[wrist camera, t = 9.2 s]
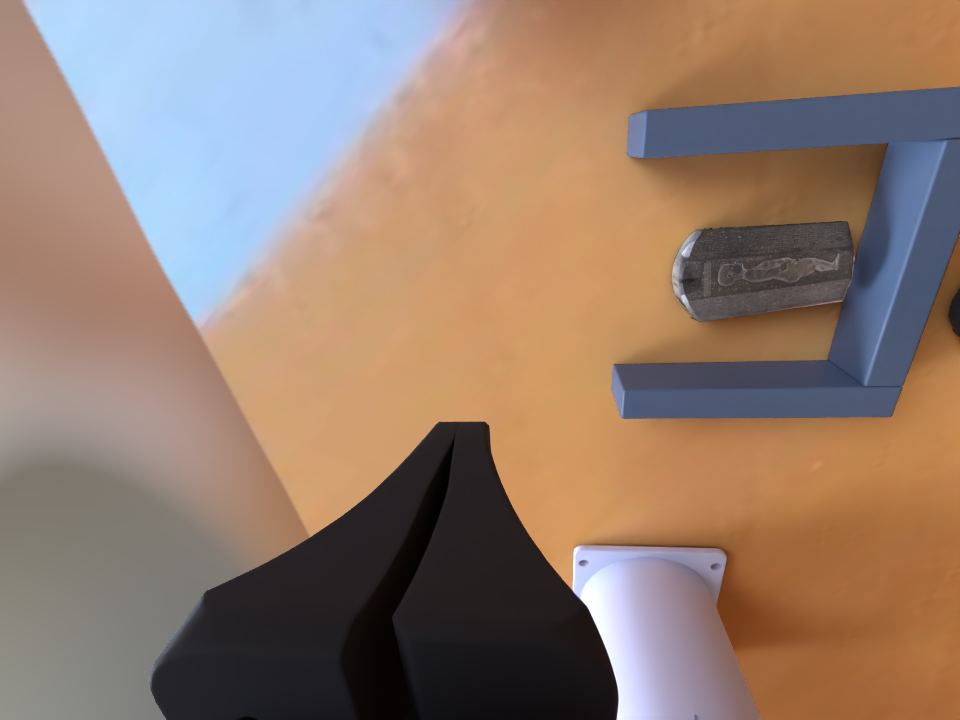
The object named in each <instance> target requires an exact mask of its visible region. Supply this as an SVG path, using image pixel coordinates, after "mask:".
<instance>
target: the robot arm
mask: <svg viewBox="0 0 960 720" xmlns="http://www.w3.org/2000/svg"><path fill="white" fill-rule="evenodd" d="M581 560H585V561H581ZM726 561H727V557H726V555H725V553H724V551H723V550H721V549H718V548H688V547H645V546H602V545H580V546H578V547H576V548H575V550H574V565H573V591H572V590H571V589H570V587H569V586H568V585H567V584H566V583H565V582H564V581H563V580H562V578H561V577H560V576H559V575H558V573H557V572H556V571H555V570H554V569H553V567H552V566H551V565H550V564H549V562H548V561H547V560H546V558H545V557H544V556H543V554H542V553H541V551H540V550H539V548H538V547H537V546H536V544H535V543H534V541H533V540H532V539H531V537H530V536H529V534H528V533H527V531H526V529H525V528H524V526H523V524H522V523H521V521H520V519H519V518H518V516H517V514H516V512H515V510H514V509H513V507H512V505H511V503H510V501H509V499H508V496H507V494H506V492H505V490H504V488H503V485H502V483H501V480H500V478H499V475H498V473H497V470H496V467H495V464H494V461H493V457H492V454H491V445H490V430H489V425H488V424H487V423H486V422H438V423H437V424H436V425H435V426H434V427H433V429H432V430H431V431H430V432H429V433H428V434H427V436H426V437H425V438H424V439H423V440H422V441H421V443H420V444H419V445H418V446H417V447H416V448H415V449H414V450H413V452H412V453H411V454H410V455H409V456H408V457H407V458H406V459H405V460H404V461H403V462H402V463H401V464H400V466H399V467H398V468H397V469H396V470H395V471H394V472H393V473H392V474H391V475H390V476H389V477H387V478H386V479H385V480H384V481H383V482H382V483H381V484H380V485H379V486H378V487H377V488H376V489H375V490H374V491H373V492H372V493H370V494H369V495H368V496H367V497H366V498H365V499H363V500H362V501H361V502H360V503H358V504H357V505H356V506H354V507H353V508H352V509H351V510H349V511H348V512H347V513H345V514H344V515H343V516H341V517H340V518H338V519H337V520H336V521H334V522H333V523H331V524H330V525H328V526H327V527H325V528H324V529H322V530H321V531H319V532H318V533H316V534H315V535H313V536H312V537H310V538H309V539H307V540H306V541H304V542H302V543H300V544H299V545H297V546H296V547H294V548H292V549H290V550H289V551H287V552H285V553H283V554H281V555H280V556H278V557H276V558H274V559H272V560H271V561H269V562H267V563H265V564H263V565H261V566H259V567H257V568H255V569H253V570H251V571H249V572H247V573H244V574H243V575H240V576H238V577H236V578H234V579H232V580H230V581H228V582H226V583H223V584H221V585H219V586H217V587H215V588H212V589H210V590H208V591H206V592H205V593H204V595H203V596H202V597H201V599H200V600H199V601H198V603H197V604H196V605H195V607H194V608H193V609H192V611H191V612H190V613H189V615H188V616H187V617H186V619H185V620H184V622H183V623H182V625H181V626H180V627H179V629H178V630H177V632H176V633H175V635H174V636H173V637H172V639H171V640H170V642H169V643H168V645H167V646H166V647H165V649H164V650H163V652H162V653H161V654H160V656H159V657H158V659H157V660H156V662H155V664H154V665H153V667H152V669H151V671H150V688H151V691H152V694H153V696H154V699H155V701H156V703H157V705H158V706H159V708H160V710H161V711H162V713H163V715H164V716H165V718H166V719H167V720H762V718H761V716H760V714H759V711H758V709H757V706H756V704H755V701H754V699H753V696H752V694H751V691H750V689H749V687H748V684H747V682H746V679H745V677H744V674H743V672H742V669H741V667H740V665H739V662H738V660H737V657H736V655H735V652H734V650H733V647H732V645H731V643H730V640H729V638H728V635H727V633H726V630H725V628H724V625H723V623H722V620H721V618H720V616H719V613H718V611H717V608H716V606H717V601H718V597H719V592H720V588H721V584H722V579H723V575H724V570H725V566H726Z"/></svg>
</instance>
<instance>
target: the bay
mask: <svg viewBox="0 0 960 720" xmlns="http://www.w3.org/2000/svg"><path fill="white" fill-rule="evenodd" d="M878 143H888V147H887V150H886V154H885V157H884V161H883V164H882V168H881V171H880V175H879V179H878V182H877V186H876V189H875V193H874V196H873V200H872V203H871V207H870V210H869V214H868V217H867V221H866V225H865V228H864V232H863V235H862V239H861V242H860V246H859V249H858V253H857V256H856V260H855V263H854V267H853V276H852V280H851V283H850V285H849V286H848V289H847V292H846V295H845V299H844V302H843V306H842V309H841V313H840V316H839V320H838V323H837V327H836V331H835V334H834V338H833V341H832V345H831V348H830V352H829V355H828V360H818V361H763V362H707V363H652V364H614V365H613V375H612V392H613V395H614V398H615V401H616V404H617V407H618V410H619V413H620V416H621V418H623V419H643V418H819V417H891V416H892V414H893V412H894V409H895V406H896V404H897V401H898V398H899V396H900V393H901V390H902V387H901V386H902V385H903V384H904V382H905V379H906V377H907V374H908V371H909V368H910V366H911V363H912V360H913V358H914V355H915V352H916V350H917V347H918V344H919V341H920V339H921V336H922V333H923V331H924V328H925V325H926V322H927V320H928V317H929V314H930V312H931V309H932V306H933V304H934V301H935V298H936V295H937V293H938V290H939V287H940V285H941V282H942V279H943V277H944V274H945V271H946V268H947V266H948V263H949V260H950V258H951V255H952V252H953V249H954V247H955V244H956V241H957V239H958V236H959V233H960V87H948V88H935V89H922V90H908V91H895V92H882V93H869V94H855V95H842V96H829V97H815V98H802V99H789V100H775V101H762V102H749V103H736V104H722V105H709V106H696V107H682V108H669V109H656V110H646V111H642V112H638V113H634V114H631V115H630V117H629V130H628V145H627V155H628V156H630V157H637V158H643V159H645V158H661V157H676V156H692V155H707V154H723V153H739V152H754V151H770V150H785V149H801V148H816V147H832V146H847V145H863V144H878Z"/></svg>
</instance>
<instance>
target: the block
mask: <svg viewBox="0 0 960 720" xmlns="http://www.w3.org/2000/svg"><path fill="white" fill-rule="evenodd" d="M704 229H705V228H704ZM854 249H855V248H854V246H853V242H852V237H851V233H850V229H849V224H848V222H844V221H836V222H820V223H815V222H814V223H803V224H787V225H770V226H754V227H753V226H751V227H750V226H749V227H724V228H723V227H722V228H721V227H720V229H712V228H709V230H707V229H706V230H695V231H694V232H693V233H692V234H691V235H690V236H689V237H688V238H687V240H686V241H685V242H684V243H683V245H682V246H681V248H680V250H679V251H678V254H677V256H676V258H675V262H674V265H673V271H672V285H673V289H674V293H675V296H676V298H677V300H678V301H679V303H680V304H681V306H682V307H683V308H684V309H685V310H686V311H687V312H688V313H689V314H691V316H692V317H691V318H692V319H695V320H697V321H700V322H704V321H712V320H719V319H726V318H733V317H740V316H747V315H753V314H761V313H767V312H773V311H779V310H785V309H793V308H800V307H808V306H815V305H822V304H828V303H833V302H843V299H844V296H845V294H846V291H847V289H848V286H849V285H850V283H851V280H852V276H853V266H854V259H855V257H854Z"/></svg>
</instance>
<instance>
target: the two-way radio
mask: <svg viewBox="0 0 960 720" xmlns="http://www.w3.org/2000/svg"><path fill="white" fill-rule="evenodd" d="M949 318H950V320H951V322H952V325H953V327H954V328H953V331H954V332H955V333H956V334H957V335H958V336H960V289H959V291H958V293H957V294H956V296H955V297H954V299H953V301H952V304H951V308H950V311H949Z"/></svg>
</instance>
